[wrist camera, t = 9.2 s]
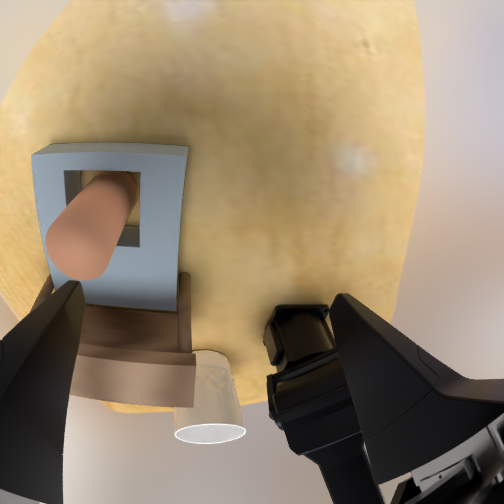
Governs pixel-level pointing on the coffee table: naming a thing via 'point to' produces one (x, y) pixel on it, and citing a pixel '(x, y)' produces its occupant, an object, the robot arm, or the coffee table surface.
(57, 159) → the socket block
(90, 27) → the coffee table surface
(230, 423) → the white cup
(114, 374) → the brown wooden table shape
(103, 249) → the peg
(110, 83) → the coffee table surface
